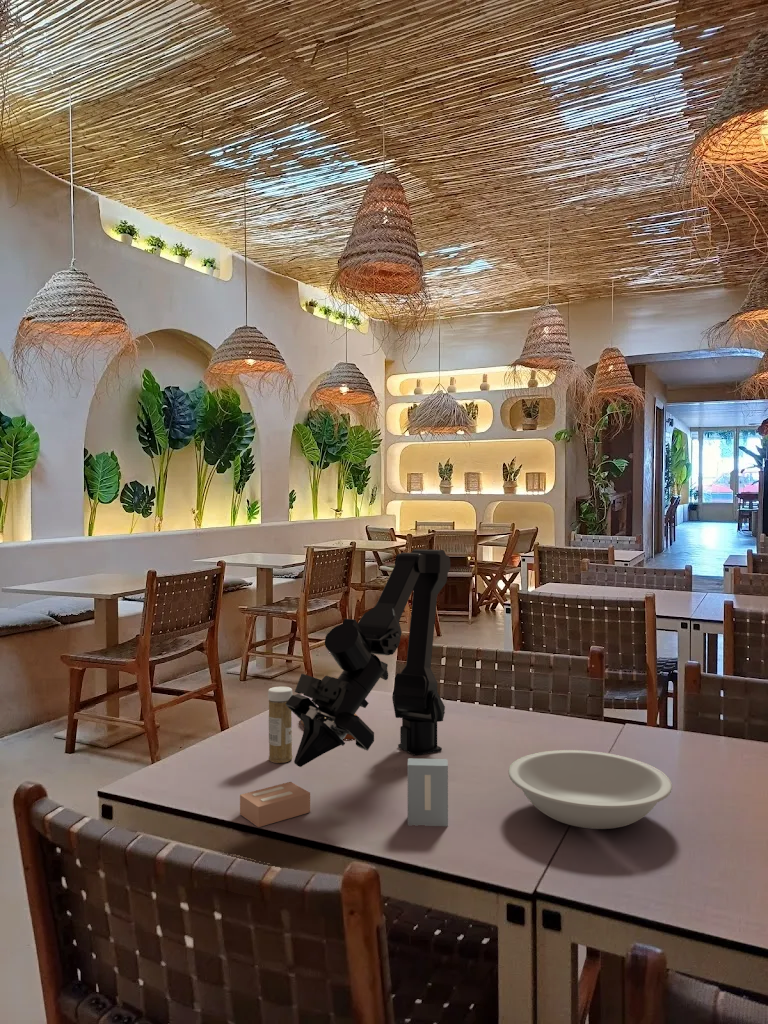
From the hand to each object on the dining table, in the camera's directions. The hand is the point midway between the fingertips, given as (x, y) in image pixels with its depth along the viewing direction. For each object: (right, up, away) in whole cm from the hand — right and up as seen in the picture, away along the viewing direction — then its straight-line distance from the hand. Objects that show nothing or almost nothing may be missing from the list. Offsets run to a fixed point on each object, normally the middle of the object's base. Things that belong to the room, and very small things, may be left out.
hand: (296, 764), depth 117 cm
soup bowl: (+45, -7, -4) cm, 46 cm away
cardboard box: (+1, -5, 0) cm, 5 cm away
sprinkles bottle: (-6, -7, +22) cm, 24 cm away
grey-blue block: (+20, -7, -5) cm, 22 cm away
